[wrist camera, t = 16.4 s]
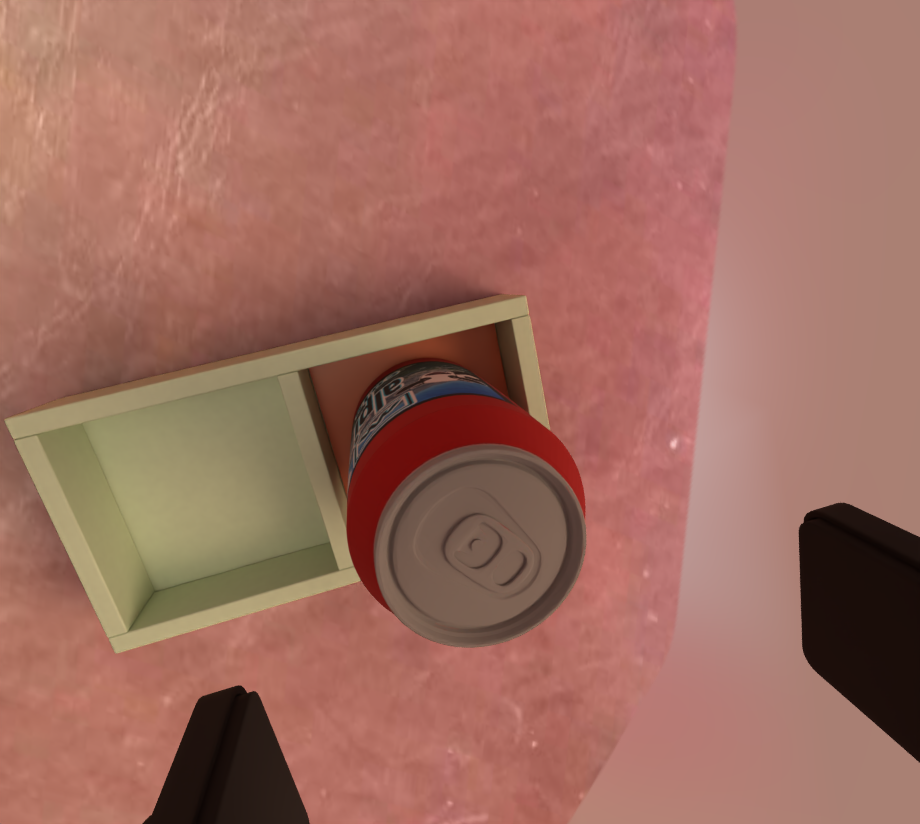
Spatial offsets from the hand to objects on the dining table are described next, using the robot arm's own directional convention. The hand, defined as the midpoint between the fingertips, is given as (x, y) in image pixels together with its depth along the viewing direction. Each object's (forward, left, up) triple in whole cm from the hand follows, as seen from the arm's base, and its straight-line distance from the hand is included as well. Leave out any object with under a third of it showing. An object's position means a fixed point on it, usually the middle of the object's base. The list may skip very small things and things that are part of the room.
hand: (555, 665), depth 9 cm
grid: (+4, +3, -17) cm, 18 cm away
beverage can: (0, 0, -17) cm, 17 cm away
